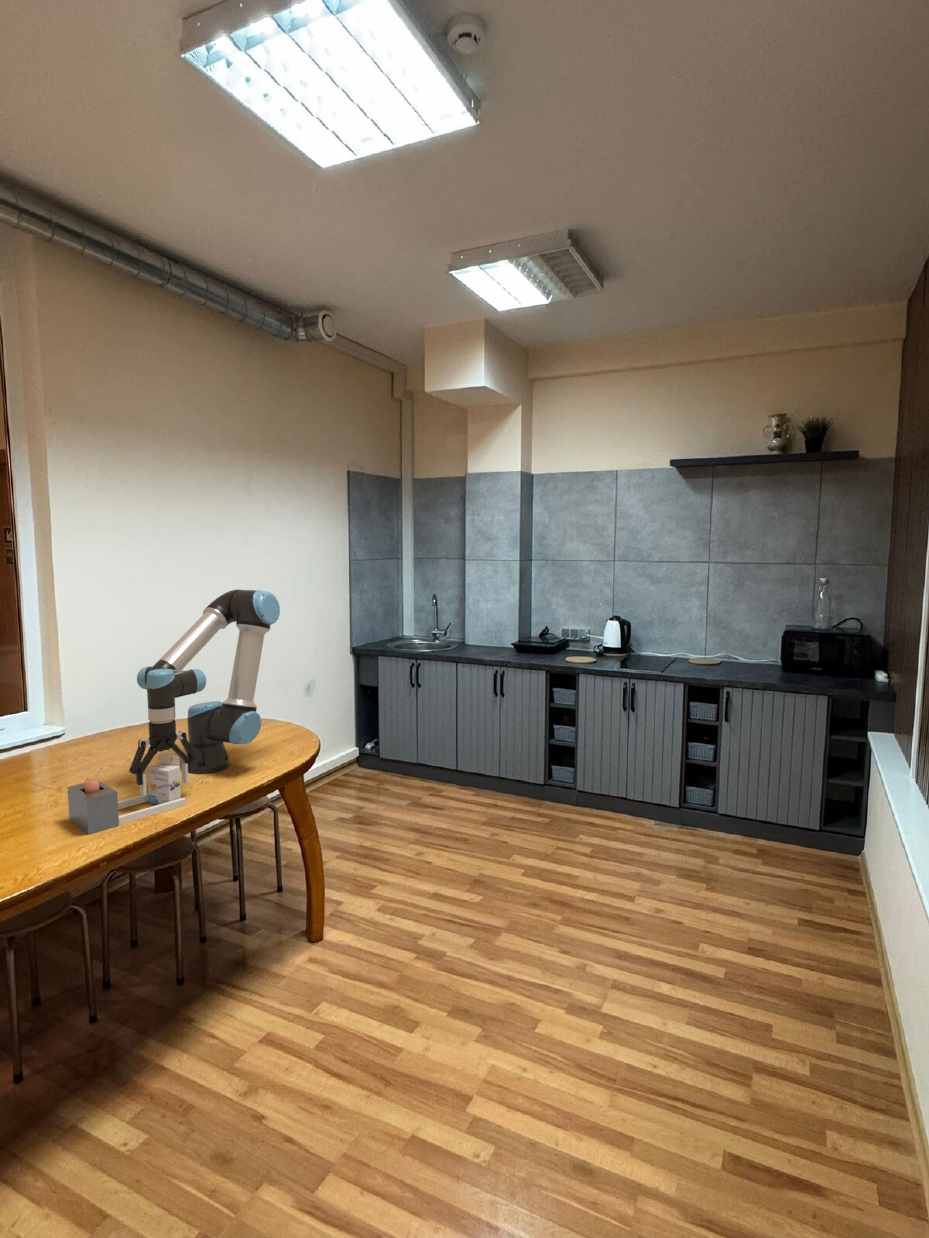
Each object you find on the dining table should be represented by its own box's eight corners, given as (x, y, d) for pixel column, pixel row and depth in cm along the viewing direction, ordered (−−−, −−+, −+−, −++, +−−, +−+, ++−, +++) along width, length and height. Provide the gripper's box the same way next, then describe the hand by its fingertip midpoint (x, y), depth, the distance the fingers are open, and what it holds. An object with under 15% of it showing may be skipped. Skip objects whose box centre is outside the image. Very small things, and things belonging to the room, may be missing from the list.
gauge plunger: (96, 794, 191) (96, 777, 191) (102, 797, 189) (101, 780, 189) (83, 797, 189) (82, 780, 188) (88, 801, 186) (87, 783, 186)
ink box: (148, 803, 204) (146, 757, 203) (161, 798, 209) (159, 752, 207) (169, 807, 201) (167, 760, 200) (182, 802, 206) (180, 755, 204)
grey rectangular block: (99, 812, 197) (97, 779, 196) (118, 825, 188) (117, 791, 187) (69, 820, 191) (67, 786, 190) (88, 834, 182) (86, 799, 181)
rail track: (166, 794, 212) (166, 788, 212) (186, 804, 204) (186, 798, 203) (99, 812, 197) (99, 806, 197) (118, 825, 189) (117, 818, 188)
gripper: (194, 711, 214) (196, 775, 216) (114, 725, 196) (118, 796, 198) (206, 715, 209) (208, 781, 212) (125, 730, 191) (128, 803, 193)
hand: (164, 788), depth 205 cm, fingers open, 12 cm apart
